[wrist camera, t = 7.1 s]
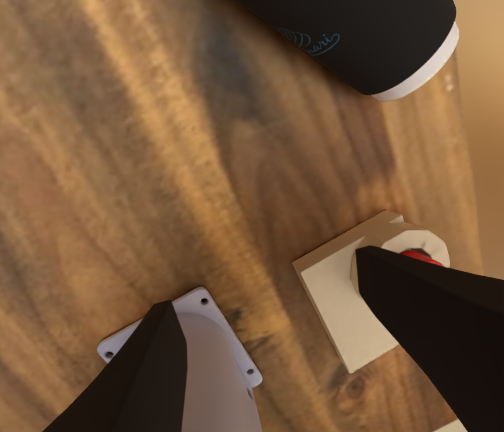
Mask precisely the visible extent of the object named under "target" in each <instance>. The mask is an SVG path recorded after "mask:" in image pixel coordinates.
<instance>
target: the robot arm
mask: <svg viewBox="0 0 504 432" xmlns="http://www.w3.org/2000/svg"><path fill="white" fill-rule="evenodd" d="M355 253H356V265H357V277H358V289H359V294H360V295H361V297H362V298H363V300H364V301H365V303H366V304H367V306H368V307H369V309H370V310H371V312H372V313H373V314H374V316H375V317H376V318H377V319H378V320H379V321H380V322H381V324H382V325H383V326H384V327H385V328H386V329H387V330H388V332H389V333H390V334H391V335H392V336H393V337H394V338H395V339H396V341H397V342H398V343H399V344H400V345H401V346H402V347H403V348H404V349H405V351H406V352H407V353H408V354H409V355H410V356H411V357H412V358H413V360H414V361H415V362H416V363H417V364H418V365H419V366H420V368H421V369H422V370H423V371H424V373H425V374H426V375H427V376H428V378H429V379H430V380H431V382H432V383H433V384H434V386H435V387H436V388H437V390H438V391H439V392H440V394H441V395H442V396H443V398H444V399H445V400H446V402H447V403H448V405H449V406H450V407H451V409H452V410H453V412H454V413H455V414H456V416H457V417H458V419H459V420H460V421H461V423H462V424H463V426H464V427H465V428H466V430H467V431H468V432H504V280H501V279H496V278H491V277H486V276H481V275H476V274H472V273H467V272H463V271H459V270H455V269H451V268H447V267H444V266H440V265H436V264H433V263H429V262H426V261H422V260H419V259H416V258H413V257H409V256H406V255H403V254H400V253H397V252H393V251H390V250H387V249H383V248H380V247H376V246H372V245H368V246H365V247H361V248H357V249H355ZM203 298H206V299H208V300H207V301H206V302H202V301H201V299H203ZM97 352H98V354H99V355H100V356H101V357H102V358H103V359H104V361H105V362H106V363H107V365H106V367H105V368H104V369H103V370H102V371H101V373H100V374H99V375H98V376H97V377H96V378H95V379H94V380H93V382H92V383H91V384H90V385H89V386H88V387H87V388H86V389H85V390H84V391H83V392H82V393H81V394H80V395H79V396H78V397H77V399H76V400H75V401H74V402H73V403H72V404H71V405H70V406H69V407H68V408H67V409H66V410H65V411H64V412H63V413H62V414H61V415H59V416H58V417H57V418H56V419H55V420H54V421H53V422H52V423H51V424H50V425H49V426H48V427H47V428H46V429H45V430H43V431H42V432H263V431H262V427H261V423H260V419H259V415H258V411H257V407H256V403H255V398H254V394H253V390H252V388H254V387H256V386H257V385H259V384H260V383H261V382H262V376H261V373H260V372H259V370H258V368H257V367H256V365H255V364H254V362H253V361H252V359H251V358H250V356H249V354H248V353H247V351H246V350H245V348H244V347H243V345H242V344H241V342H240V340H239V339H238V337H237V336H236V334H235V333H234V331H233V330H232V328H231V326H230V325H229V323H228V322H227V320H226V319H225V317H224V316H223V314H222V312H221V311H220V309H219V308H218V306H217V305H216V303H215V301H214V300H213V298H212V297H211V295H210V294H209V292H208V291H207V289H206V288H204V287H198V288H196V289H194V290H192V291H190V292H188V293H187V294H185V295H183V296H181V297H179V298H178V299H176V300H174V301H171V300H168V301H164V302H160V303H157V304H154V305H153V306H152V308H151V309H150V310H149V311H148V313H147V314H146V315H145V317H144V318H142V319H140V320H138V321H136V322H135V323H133V324H131V325H129V326H127V327H126V328H124V329H122V330H120V331H118V332H117V333H115V334H113V335H111V336H110V337H108V338H106V339H104V340H102V341H101V342H100V343H99V345H98V347H97ZM107 352H112V353H113V354H108V353H107ZM249 369H252V370H250V371H248V370H249Z"/></svg>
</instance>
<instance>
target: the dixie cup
mask: <svg viewBox="0 0 504 432" xmlns="http://www.w3.org/2000/svg"><path fill="white" fill-rule="evenodd" d="M235 1H237V2H238V3H240V4H241V5H242V6H244V7H245V8H246V9H248V10H249V11H250V12H252V13H253V14H254V15H256V16H257V17H258V18H260V19H261V20H262V21H264V22H265V23H267V24H268V25H269V26H271V27H272V28H273V29H275V30H276V31H277V32H279V33H280V34H281V35H283V36H284V37H285V38H287V39H288V40H290V41H291V42H292V43H294V44H295V45H296V46H298V47H299V48H300V49H302V50H303V51H304V52H306V53H307V54H308V55H310V56H311V57H312V58H314V59H315V60H317V61H318V62H319V63H321V64H322V65H323V66H325V67H326V68H327V69H329V70H330V71H331V72H333V73H334V74H335V75H337V76H338V77H339V78H341V79H342V80H344V81H345V82H346V83H348V84H349V85H350V86H352V87H353V88H354V89H356V90H357V91H358V92H360V93H362V94H364V95H371V96H372V97H373V98H375V99H376V100H378V101H382V102H386V101H393V100H396V99H399V98H401V97H404V96H406V95H408V94H409V93H411V92H413V91H414V90H416V89H418V88H419V87H420V86H422V85H423V84H424V83H426V82H427V81H428V80H429V79H430V78H432V77H433V76H434V75H435V74H436V73H437V72H438V71H439V70H440V69H441V67H442V66H443V65H444V64H445V63H446V61H447V60H448V59H449V57H450V56H451V54H452V53H453V51H454V49H455V47H456V45H457V42H458V38H459V29H458V27H457V25H456V22H455V18H456V7H455V4H454V2H453V0H235Z"/></svg>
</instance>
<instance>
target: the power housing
mask: <svg viewBox="0 0 504 432" xmlns="http://www.w3.org/2000/svg"><path fill="white" fill-rule="evenodd" d="M368 245H372V246H376V247H380V248H383V249H387V250H390V251H393V252H397V253H401V252H403V251H409V250H411V251H416V252H419V253H421V254H423V255H425V256H427V257H429V258H431V259H433V260H435V261H438V262H439V263H441V264H442V265H443V266H444V267H447V268H449V265H450V259H449V256H448V252H447V248H446V245H445V242H444V241H442V240H441V239H440V238H438V237H437V236H436V235H435V234H433V233H432V232H431V231H429V230H427V229H424V228H421V227H419V226H416V225H413V224H410V223H404V220H403V217H402V215H401V214H398V213H395V212H392V211H389V210H384V211H382V212H380V213H379V214H377V215H375V216H373V217H372V218H370V219H368V220H366V221H364V222H363V223H361V224H359V225H357V226H356V227H354V228H352V229H350V230H349V231H347V232H345V233H343V234H341V235H340V236H338V237H336V238H334V239H333V240H331V241H329V242H327V243H326V244H324V245H322V246H320V247H318V248H317V249H315V250H313V251H311V252H310V253H308V254H306V255H304V256H303V257H301V258H299V259H297V260H295V261H294V262H292V265H293V267H294V269H295V271H296V273H297V275H298V277H299V279H300V281H301V283H302V285H303V287H304V289H305V291H306V293H307V295H308V297H309V299H310V301H311V303H312V305H313V307H314V309H315V311H316V313H317V315H318V317H319V319H320V321H321V323H322V325H323V327H324V329H325V331H326V333H327V335H328V337H329V339H330V341H331V343H332V345H333V347H334V349H335V351H336V353H337V355H338V357H339V359H340V360H341V362H342V363H343V364H344V366H345V367H346V369H347V370H348V372H349V373H350V374H351V373H352V372H354V371H356V370H357V369H359V368H361V367H362V366H364V365H366V364H367V363H369V362H371V361H372V360H374V359H376V358H377V357H379V356H381V355H382V354H384V353H386V352H387V351H389V350H391V349H392V348H394V347H396V346H397V345H399V343H398V342H397V341H396V339H395V338H394V337H393V336H392V335H391V334H390V333H389V332H388V330H387V329H386V328H385V327H384V326H383V325H382V324H381V322H380V321H379V320H378V319H377V318H376V317H375V316H374V314H373V313H372V312H371V310H370V309H369V307H368V306H367V304H366V303H365V301H364V300H363V298H362V297H361V295H360V294H359V289H358V277H357V265H356V253H355V249H357V248H361V247H365V246H368Z"/></svg>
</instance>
